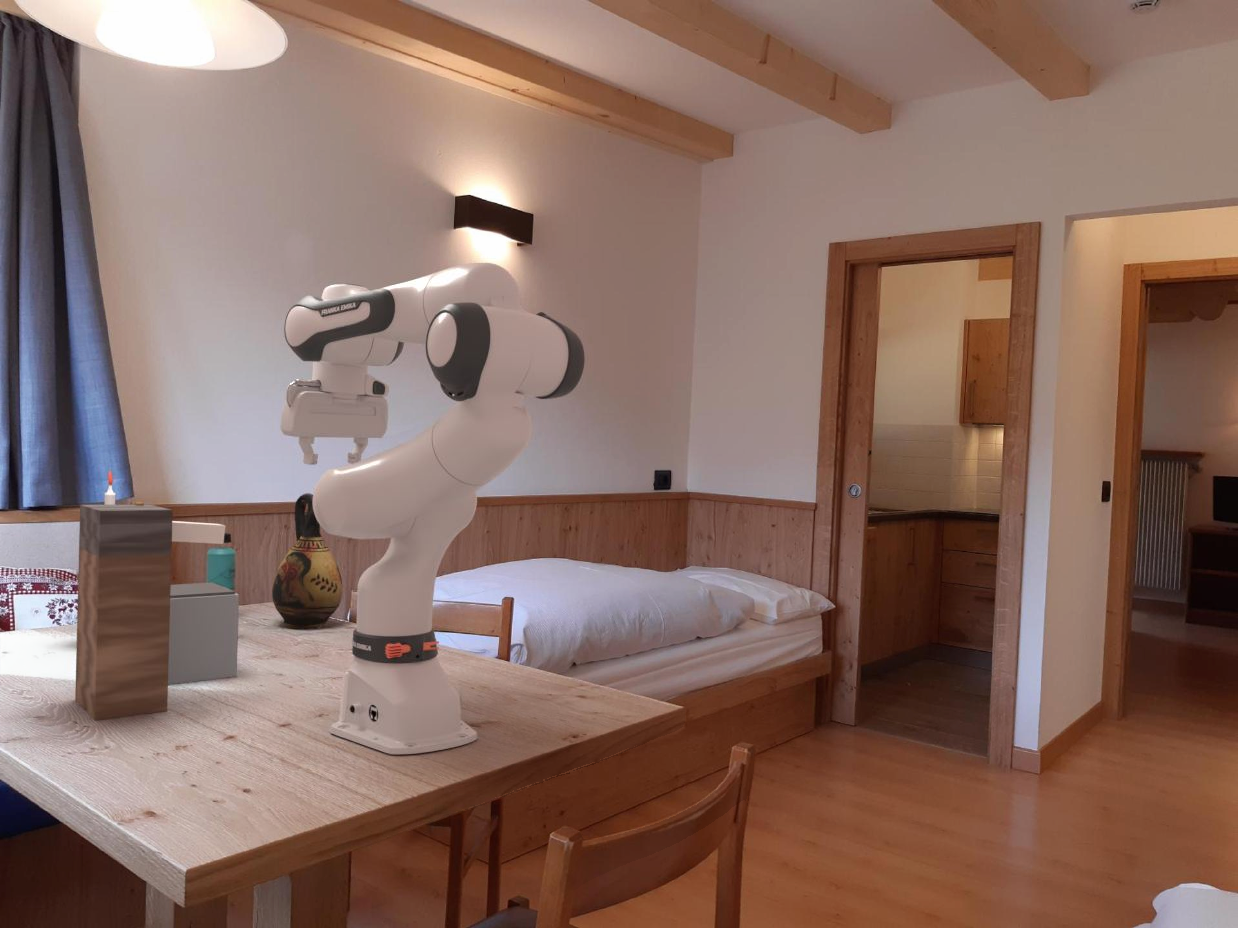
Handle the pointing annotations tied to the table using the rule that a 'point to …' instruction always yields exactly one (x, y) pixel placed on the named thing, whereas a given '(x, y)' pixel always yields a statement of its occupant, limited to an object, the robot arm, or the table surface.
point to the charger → (197, 532)
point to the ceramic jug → (307, 575)
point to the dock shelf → (202, 632)
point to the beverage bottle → (221, 565)
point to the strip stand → (123, 609)
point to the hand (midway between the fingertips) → (332, 463)
